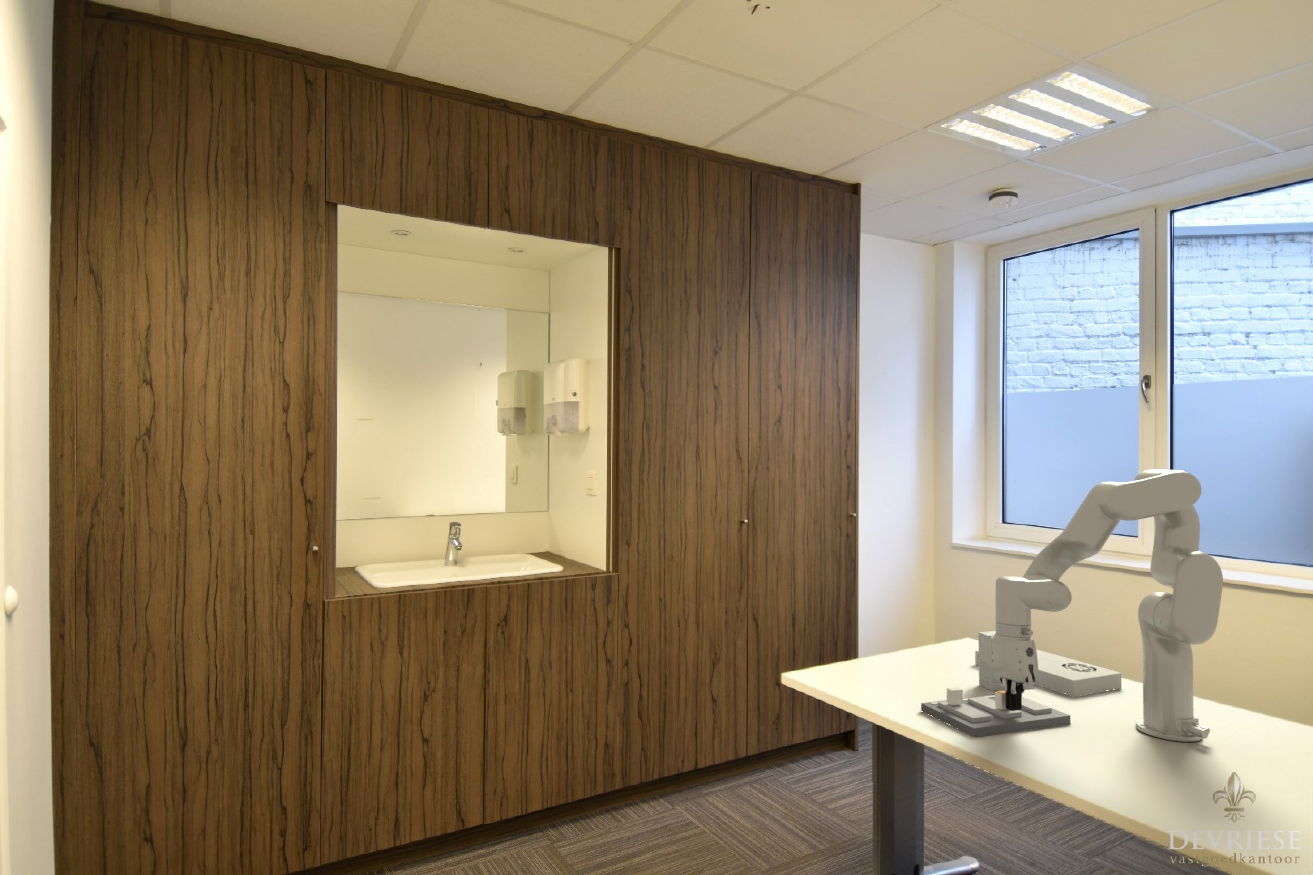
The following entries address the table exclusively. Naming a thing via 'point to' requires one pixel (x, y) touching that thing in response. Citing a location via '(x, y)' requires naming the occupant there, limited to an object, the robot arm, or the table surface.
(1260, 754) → the table surface
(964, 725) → the breaker panel
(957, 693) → the breaker
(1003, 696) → the block
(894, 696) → the table surface
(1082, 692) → the power supply unit
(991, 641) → the skincare box
